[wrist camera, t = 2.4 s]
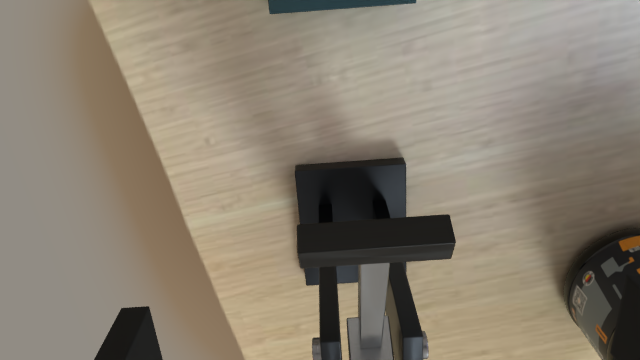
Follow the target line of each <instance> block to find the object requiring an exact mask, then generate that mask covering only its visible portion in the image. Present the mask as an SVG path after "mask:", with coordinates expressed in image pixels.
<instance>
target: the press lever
mask: <svg viewBox="0 0 640 360" xmlns="http://www.w3.org/2000/svg"><path fill="white" fill-rule="evenodd" d="M455 243H456V240H455V236H454V232H453V227H452V223H451V219H450V216H449V215H448V214H447V215H432V216H417V217H402V218H386V219H371V220H356V221H341V222H326V223H311V224H299V225H298V226H297V253H298V258H299V263H300V267H301V268H317V267H332V266H348V265H358V317H355V318H347V335H348V350H349V360H394V354H393V346H392V338H391V331H390V323H389V316H385V307H386V297H387V287H388V277H389V267H390V263H394V262H410V261H425V260H441V259H451V257H452V254H453V250H454V247H455Z"/></svg>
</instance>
